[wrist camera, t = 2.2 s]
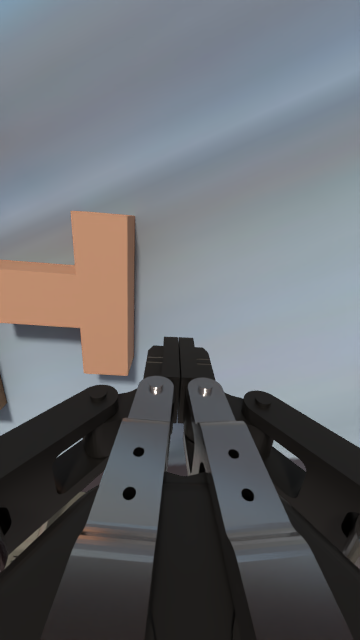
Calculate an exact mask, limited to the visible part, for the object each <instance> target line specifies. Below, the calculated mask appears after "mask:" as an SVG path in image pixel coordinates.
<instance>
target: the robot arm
mask: <svg viewBox="0 0 360 640" xmlns="http://www.w3.org/2000/svg"><path fill="white" fill-rule="evenodd" d="M177 409H178V423H184V432H183V444H184V451H185V458H186V465H187V472H188V476H179V475H175V474H172V473H168V472H167V467H168V457H169V447H170V435H171V434H172V429H173V423H176V422H177ZM81 438H83V440H81V441H80V442H78V443H77V444H76V445H74V446H73V447H71V448H70V449H69V450H67V451H66V452H64V453H63V454H62V455H60V456H59V457H57V456H58V455H59V454H60V453H62V452H63V451H64V450H66V449H67V448H69V447H70V446H71V445H73V444H74V443H76V442H77V441H78V440H80V439H81ZM273 440H275V441H276V442H278V443H279V444H280V445H282V446H283V447H284V448H286V449H287V450H288V451H290V452H291V453H292V454H294V455H295V456H297V457H298V458H299V459H300V460H301V461H302V462H303V463H304V465H305V467H306V472H305V471H304V470H303V469H301V468H300V467H299V466H297V465H296V464H294V463H293V462H292V461H291V460H289V459H288V458H287V457H285V456H284V455H283V454H282V453H280V452H279V451H278V450H276V449H275V448H274V447H272V444H273ZM104 470H105V471H104ZM103 471H104V474H103V477H102V480H101V483H100V485H98V486H96V487H94V488H93V489H91V490H90V491H88V492H86V493H85V494H84V495H82V496H81V497H80V498H79V499H77V500H76V501H75V502H74V503H73V504H72V505H71V506H70V507H69V508H68V509H67V510H66V511H65V512H64V513H63V514H62V515H61V516H59V517H58V518H57V519H56V520H55V521H54V522H53V523H52V524H51V525H50V526H49V527H48V528H47V529H46V530H45V531H44V532H43V533H42V534H41V535H40V536H38V537H37V538H36V539H35V540H34V541H33V542H32V543H31V544H30V545H29V546H28V547H27V548H26V549H25V550H24V551H23V552H22V553H21V554H20V555H19V556H18V557H16V558H15V559H14V560H13V561H12V562H11V563H10V564H9V565H8V566H7V567H6V568H5V566H6V563H7V559H8V555H9V554H10V553H12V552H13V551H14V550H15V549H16V548H17V547H18V546H19V545H21V544H22V543H23V542H24V541H25V540H26V539H27V538H28V537H30V536H31V535H32V534H33V533H34V532H35V531H36V530H37V529H39V528H40V527H41V526H42V525H43V524H44V523H45V522H47V521H48V520H49V519H50V518H51V517H52V516H53V515H54V514H56V513H57V512H58V511H59V510H60V509H61V508H62V507H63V506H65V505H66V504H67V503H68V502H69V501H70V500H71V499H72V498H74V497H75V496H76V495H77V494H78V493H79V492H80V491H82V490H83V489H84V488H85V487H86V486H87V485H88V484H89V483H90V482H92V481H93V480H94V479H95V478H96V477H97V476H98V475H100V474H101V473H102V472H103ZM0 640H360V448H359V447H357V446H355V445H354V444H352V443H350V442H349V441H347V440H346V439H344V438H342V437H341V436H339V435H337V434H336V433H334V432H332V431H331V430H329V429H327V428H326V427H324V426H322V425H321V424H319V423H317V422H316V421H314V420H312V419H311V418H309V417H307V416H306V415H304V414H302V413H301V412H299V411H297V410H296V409H294V408H293V407H291V406H289V405H288V404H286V403H284V402H283V401H281V400H279V399H278V398H276V397H274V396H273V395H271V394H269V393H266V392H263V391H250V392H248V393H246V394H245V396H244V399H242V398H238V397H235V396H231V395H229V394H226V393H225V392H224V391H223V388H222V386H221V385H220V384H219V383H218V382H216V381H215V377H214V373H213V369H212V366H211V362H210V358H209V354H208V352H207V351H206V350H205V349H204V348H198V347H194V341H193V338H182V337H179V341H178V337H164V346H152V347H151V348H150V349H149V350H148V355H147V361H146V367H145V372H144V378H143V380H142V381H141V382H140V383H139V385H138V388H137V389H135V390H133V391H131V392H127V393H122V394H118V392H117V390H116V389H115V388H113V387H111V386H108V385H96V386H92V387H89V388H87V389H85V390H83V391H82V392H80V393H78V394H76V395H74V396H73V397H71V398H69V399H67V400H65V401H63V402H62V403H60V404H58V405H56V406H54V407H52V408H51V409H49V410H47V411H45V412H43V413H42V414H40V415H38V416H36V417H34V418H32V419H31V420H29V421H27V422H25V423H23V424H21V425H20V426H18V427H16V428H14V429H12V430H11V431H9V432H7V433H5V434H3V435H1V436H0Z"/></svg>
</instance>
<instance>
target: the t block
mask: <svg viewBox="0 0 360 640" xmlns="http://www.w3.org/2000/svg"><path fill="white" fill-rule="evenodd" d="M71 221H72V234H73V246H74V258H75V265H62V264H49V263H36V262H23V261H10V260H0V323H12V324H27V325H42V326H57V327H72V328H80V332H81V344H82V356H83V368H84V373H87V374H104V375H120V376H128V373H129V370H130V367H131V364H132V361H133V357H134V259H135V216H132V215H120V214H108V213H96V212H82V211H71Z"/></svg>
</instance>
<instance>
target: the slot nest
mask: <svg viewBox="0 0 360 640" xmlns="http://www.w3.org/2000/svg"><path fill="white" fill-rule="evenodd" d="M6 403H7V401H6V397H5V393H4V388H3V384H2V380H1V376H0V410H1V409H2V408H3V407H4V406H5V404H6Z"/></svg>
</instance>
